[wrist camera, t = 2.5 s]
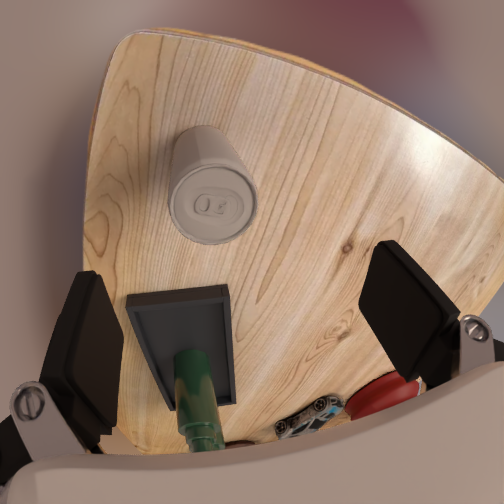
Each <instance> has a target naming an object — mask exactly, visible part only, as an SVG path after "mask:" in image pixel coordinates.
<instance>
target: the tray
mask: <svg viewBox="0 0 504 504" xmlns="http://www.w3.org/2000/svg"><path fill="white" fill-rule="evenodd" d="M125 308H126V310H127V313H128V316H129V319H130V321H131V324H132V327H133V329H134V332H135V334H136V337H137V339H138V342H139V344H140V347H141V349H142V351H143V354H144V356H145V359H146V361H147V363H148V365H149V368H150V370H151V372H152V374H153V377H154V379H155V381H156V383H157V385H158V387H159V389H160V392H161V394H162V396H163V398H164V400H165V402H166V404H167V406H168V408H169V410H170V411H174V410H175V411H176V402H175V388H174V372H173V358H174V356H175V355H176V354H177V353H179V352H181V351H184V350H191V349H192V350H200V351H203V352H205V353H206V354H207V355H208V356H209V358H210V365H211V371H212V377H213V384H214V387H215V393H216V398H217V404H218V406H225V405H232V404H236V390H235V375H234V359H233V343H232V325H231V307H230V294H229V290H228V285H227V284H224V285H216V286H207V287H198V288H189V289H180V290H171V291H161V292H151V293H141V294H131V295H127V300H126V307H125Z"/></svg>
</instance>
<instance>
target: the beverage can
mask: <svg viewBox="0 0 504 504" xmlns="http://www.w3.org/2000/svg"><path fill="white" fill-rule="evenodd" d="M168 208H169V212H170V216H171V218H172V221H173V223H174V225H175V226H176V228H177V230H178V231H179V232H180V233H182V234H183V235H184V236H185V237H186V238H188V239H190V240H192V241H193V242H196V243H200V244H204V245H218V244H224V243H227V242H229V241H232V240H234V239H236V238H238V237H239V236H240V235H242V234H243V233H245V231H246V230H247V229H248V228H249V227H250V226H251V224H252V222H253V220H254V218H255V216H256V214H257V209H258V194H257V188H256V185H255V182H254V180H253V177H252V176H251V174H250V173H249V171H248V170H247V168H246V167H245V165H244V163H243V162H242V160H241V159H240V157H239V156H238V154H237V153H236V151H235V150H234V148H233V147H232V145H231V144H230V142H229V140H228V139H227V138H226V136H225V135H224V134H223V132H221V131H220V130H219V129H217V128H215V127H212V126H204V125H202V126H197V127H193V128H191V129H188V130H187V131H185V132H184V133H182V134H181V136H180V137H179V138H178V140H177V142H176V144H175V148H174V154H173V161H172V168H171V175H170V182H169V190H168Z"/></svg>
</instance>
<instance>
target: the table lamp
mask: <svg viewBox="0 0 504 504" xmlns="http://www.w3.org/2000/svg"><path fill="white" fill-rule="evenodd" d="M418 390H419V383H418V382H417V381H416V380H413V381H411V382H409V383H406V381H405V379H404V378H403V377H401V376H400V375H399V374H398V372H397V371H394V372H392V373H389V374H387V375H385V376H383V377H381V378H379V379H377V380H375V381H373V382H372V383H370V384H369V385H367V386H366V387H364V388H363V389H362V390H360V391H359V392H357V393H356V394H355V395H354V396H353V397H352V398H351V399H350V400H349V401H348V403H347V405H346V407H345V412H346V413H348V414H349V415H351V421H354V420H357V419H359V418H362V417H365V416H368V415H371V414H374V413H376V412H379V411H382V410H384V409H387V408H390V407H392V406H395V405H397V404H400V403H402V402H404V401H407V400H409V399H411V398H414V397H416V396H417V394H418Z"/></svg>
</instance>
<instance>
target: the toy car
mask: <svg viewBox="0 0 504 504" xmlns="http://www.w3.org/2000/svg"><path fill="white" fill-rule="evenodd" d="M323 401H324V402H325V403H324V402H323ZM320 402H321V403H320ZM318 404H319V405H318ZM343 409H344V405H343V399H338V398H337V397H332V396H329V397H326V399H323V398H319V399H317V400H316V401H315V403H314V405H313V404H312V405H311V406H309V408H308V409H307V410H305V411H303V412H302V413H300V414H298V415H297V416H295V417H293V418H289V419H287V421H278V422H277V423H276V425H275V433H276V436H278V438H279V440H284V439H288V438H293V437H297V436H301V435H305V434H309V433H313V432H316V431H317V430H318V429H319V428H321V427H322V426H323V425H324V424H325V423H326V422H327V421H329V420H330V419H332V418H333V417H335V416H336V415H338V414H340V413H341V411H342V410H343ZM281 424H282V425H281Z"/></svg>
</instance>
